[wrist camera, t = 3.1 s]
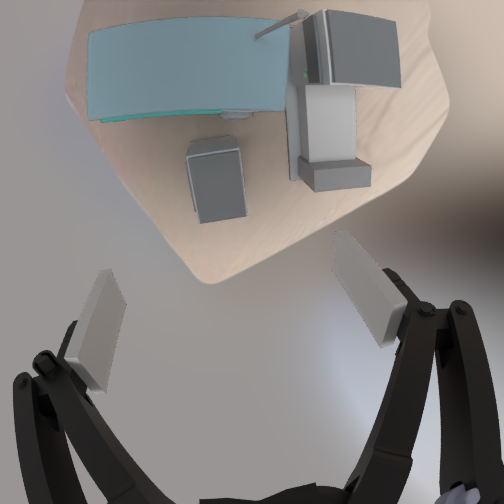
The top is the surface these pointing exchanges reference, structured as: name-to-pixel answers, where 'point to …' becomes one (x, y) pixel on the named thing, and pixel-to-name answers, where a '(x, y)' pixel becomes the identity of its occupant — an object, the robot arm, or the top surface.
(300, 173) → the block
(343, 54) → the block
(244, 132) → the top surface
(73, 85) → the top surface
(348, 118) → the rail panel
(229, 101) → the radio
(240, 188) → the block
